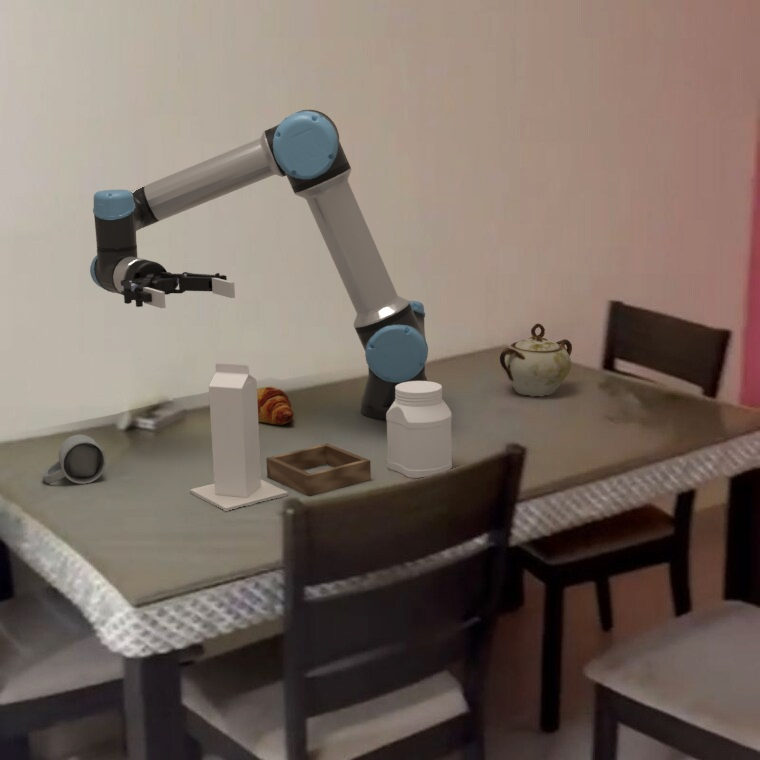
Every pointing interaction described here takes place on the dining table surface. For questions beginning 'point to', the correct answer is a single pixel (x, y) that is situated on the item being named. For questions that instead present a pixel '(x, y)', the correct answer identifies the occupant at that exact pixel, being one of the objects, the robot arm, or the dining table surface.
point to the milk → (235, 431)
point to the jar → (419, 430)
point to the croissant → (273, 406)
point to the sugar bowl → (536, 364)
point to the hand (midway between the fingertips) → (198, 295)
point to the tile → (232, 502)
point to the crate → (343, 473)
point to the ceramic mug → (77, 461)
